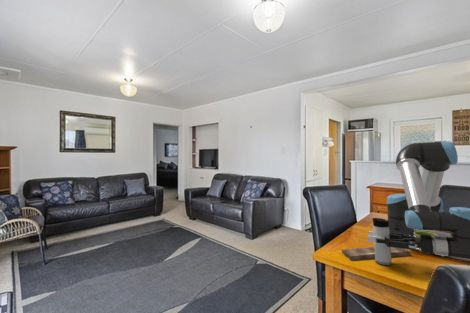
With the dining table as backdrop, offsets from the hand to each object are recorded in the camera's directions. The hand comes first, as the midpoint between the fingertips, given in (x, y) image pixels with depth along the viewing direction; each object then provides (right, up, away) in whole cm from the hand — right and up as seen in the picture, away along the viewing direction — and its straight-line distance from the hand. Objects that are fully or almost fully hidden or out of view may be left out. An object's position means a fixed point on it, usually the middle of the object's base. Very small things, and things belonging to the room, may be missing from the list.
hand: (368, 236), depth 109 cm
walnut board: (+7, -11, +6) cm, 14 cm away
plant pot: (+33, -10, +7) cm, 35 cm away
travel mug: (+5, -11, -3) cm, 12 cm away
